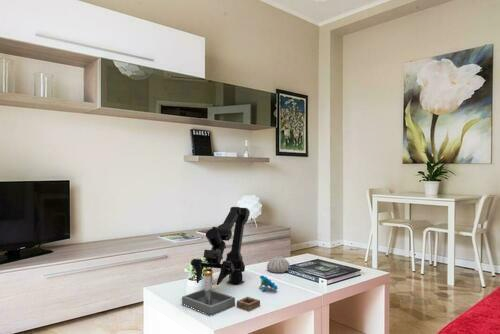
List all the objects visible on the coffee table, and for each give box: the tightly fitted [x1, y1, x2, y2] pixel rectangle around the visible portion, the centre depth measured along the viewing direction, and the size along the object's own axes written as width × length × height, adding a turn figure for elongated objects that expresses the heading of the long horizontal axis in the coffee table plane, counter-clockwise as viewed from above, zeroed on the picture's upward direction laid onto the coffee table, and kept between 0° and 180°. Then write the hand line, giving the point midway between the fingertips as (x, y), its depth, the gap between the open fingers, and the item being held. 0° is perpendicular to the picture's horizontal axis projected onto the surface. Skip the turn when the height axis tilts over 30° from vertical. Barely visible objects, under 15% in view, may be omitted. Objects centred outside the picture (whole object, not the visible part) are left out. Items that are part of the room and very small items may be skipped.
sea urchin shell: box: [266, 255, 291, 274], centre depth 204 cm, size 13×14×8 cm
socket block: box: [236, 296, 261, 312], centre depth 150 cm, size 7×7×2 cm
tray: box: [181, 289, 236, 316], centre depth 152 cm, size 18×14×4 cm
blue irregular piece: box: [258, 274, 278, 293], centre depth 170 cm, size 11×6×10 cm
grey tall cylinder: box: [202, 268, 214, 305], centre depth 151 cm, size 4×4×14 cm
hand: (207, 283), depth 151 cm, fingers open, 9 cm apart
